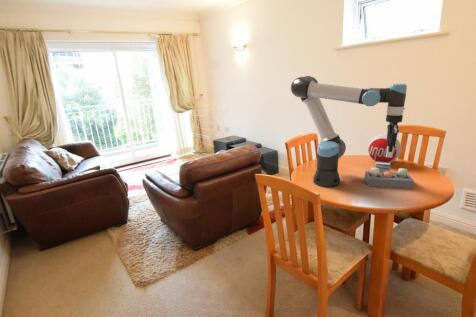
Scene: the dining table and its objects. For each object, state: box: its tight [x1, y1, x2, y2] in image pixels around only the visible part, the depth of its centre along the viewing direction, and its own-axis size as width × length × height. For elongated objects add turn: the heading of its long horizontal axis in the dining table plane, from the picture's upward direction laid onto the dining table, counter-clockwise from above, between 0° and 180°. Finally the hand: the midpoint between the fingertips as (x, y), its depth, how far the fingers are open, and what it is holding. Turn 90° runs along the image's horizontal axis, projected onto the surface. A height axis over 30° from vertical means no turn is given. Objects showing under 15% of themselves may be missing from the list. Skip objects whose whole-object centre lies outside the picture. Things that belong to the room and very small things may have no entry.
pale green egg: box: [397, 167, 409, 178], centre depth 147 cm, size 4×4×6 cm
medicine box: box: [374, 161, 391, 172], centre depth 159 cm, size 8×4×9 cm, turn 62°
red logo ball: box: [367, 133, 402, 164], centre depth 180 cm, size 20×20×20 cm
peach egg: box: [384, 170, 394, 178], centre depth 149 cm, size 4×4×6 cm
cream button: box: [370, 166, 380, 177], centre depth 151 cm, size 4×4×6 cm
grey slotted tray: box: [364, 170, 415, 189], centre depth 150 cm, size 22×12×4 cm, turn 74°
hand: (388, 156), depth 146 cm, fingers closed
